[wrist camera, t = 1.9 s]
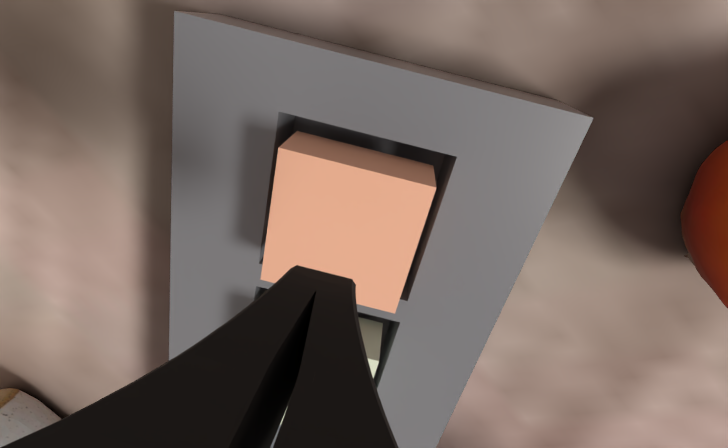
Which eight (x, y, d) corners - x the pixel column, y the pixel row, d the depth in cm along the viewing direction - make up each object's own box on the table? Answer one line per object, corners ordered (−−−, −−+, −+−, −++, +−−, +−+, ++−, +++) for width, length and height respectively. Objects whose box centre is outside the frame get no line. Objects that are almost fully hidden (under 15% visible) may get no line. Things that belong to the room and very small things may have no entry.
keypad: (558, 100, 14) (593, 117, 11) (367, 542, 27) (362, 599, 24) (220, 14, 14) (174, 10, 11) (190, 498, 27) (165, 550, 24)
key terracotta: (433, 165, 13) (436, 187, 11) (396, 278, 15) (394, 313, 13) (297, 130, 13) (278, 147, 11) (278, 249, 15) (260, 279, 13)
